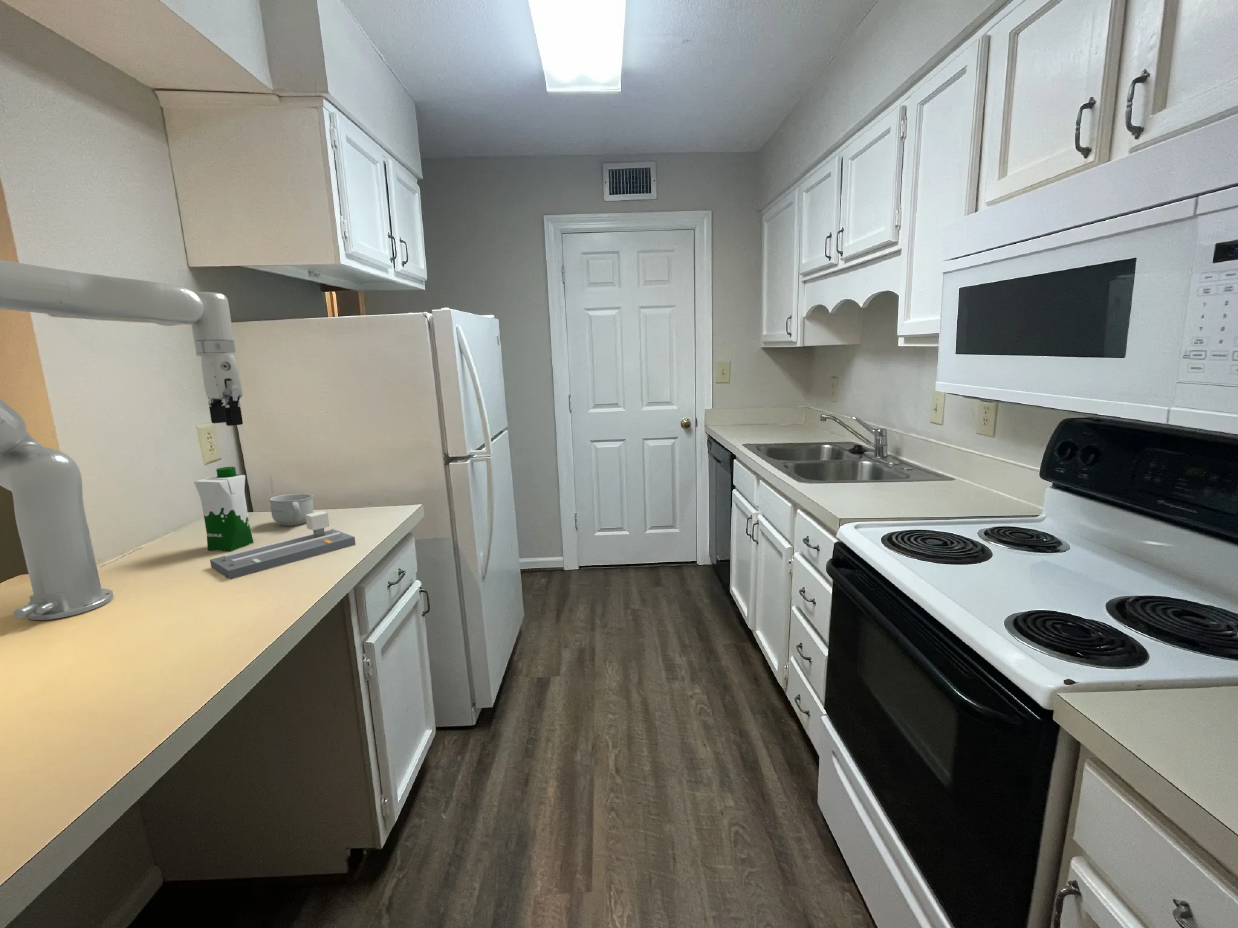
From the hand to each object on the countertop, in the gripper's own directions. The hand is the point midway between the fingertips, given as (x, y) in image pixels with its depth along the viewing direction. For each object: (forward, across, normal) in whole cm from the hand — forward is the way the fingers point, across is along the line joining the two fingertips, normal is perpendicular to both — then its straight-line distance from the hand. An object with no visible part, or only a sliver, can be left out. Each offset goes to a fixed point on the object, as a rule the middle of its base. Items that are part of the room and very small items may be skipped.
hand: (227, 423), depth 136 cm
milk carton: (+32, +11, 0) cm, 34 cm away
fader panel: (+32, -8, -6) cm, 34 cm away
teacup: (+32, +19, -18) cm, 42 cm away
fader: (+30, -8, -14) cm, 34 cm away
